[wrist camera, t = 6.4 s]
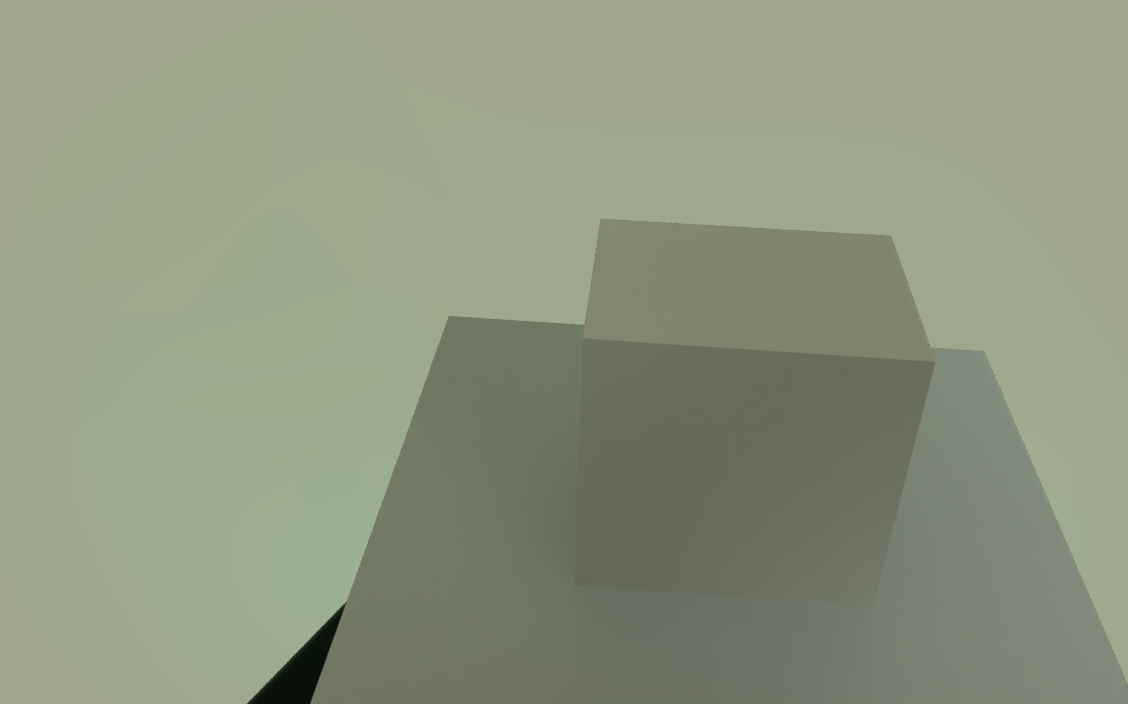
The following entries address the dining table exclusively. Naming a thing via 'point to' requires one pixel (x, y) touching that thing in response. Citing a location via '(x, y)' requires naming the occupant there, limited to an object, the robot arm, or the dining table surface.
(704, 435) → the block
